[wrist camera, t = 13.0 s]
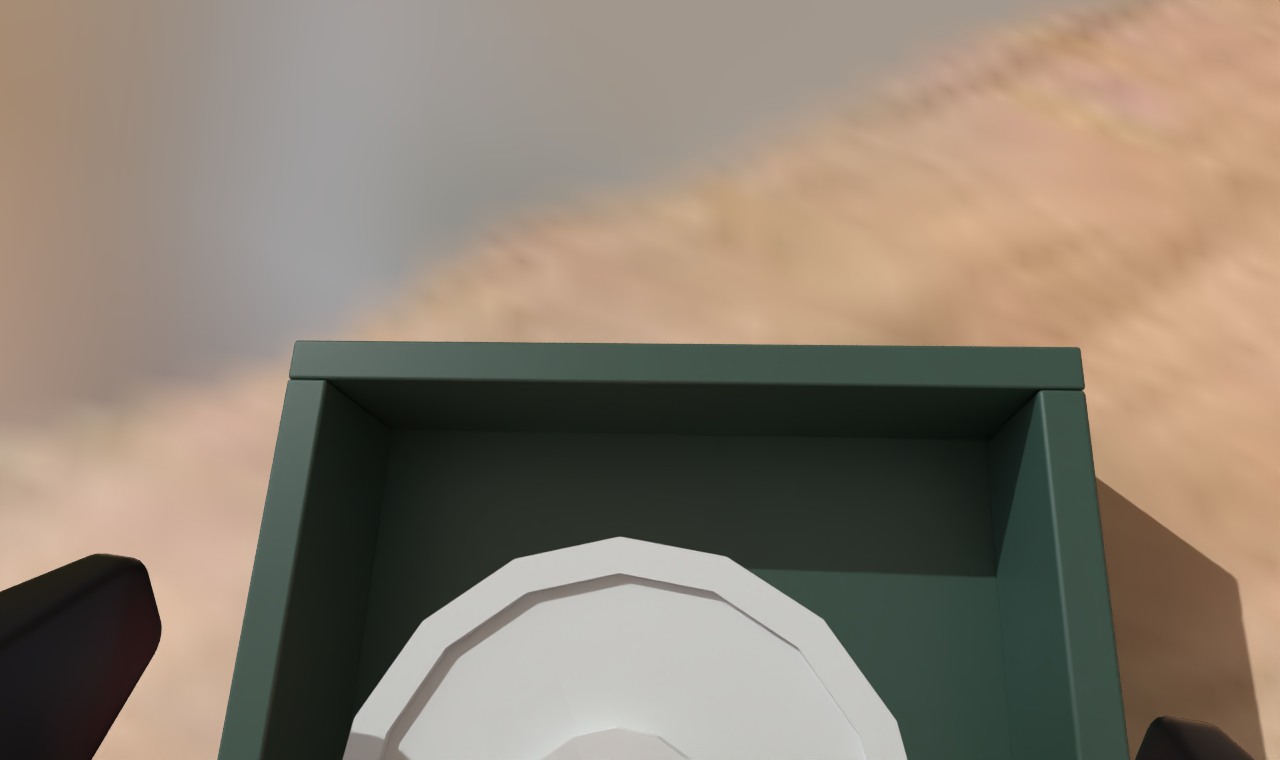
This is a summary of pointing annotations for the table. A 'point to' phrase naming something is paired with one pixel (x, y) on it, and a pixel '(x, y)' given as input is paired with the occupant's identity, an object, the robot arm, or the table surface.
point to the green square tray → (698, 518)
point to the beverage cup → (624, 669)
